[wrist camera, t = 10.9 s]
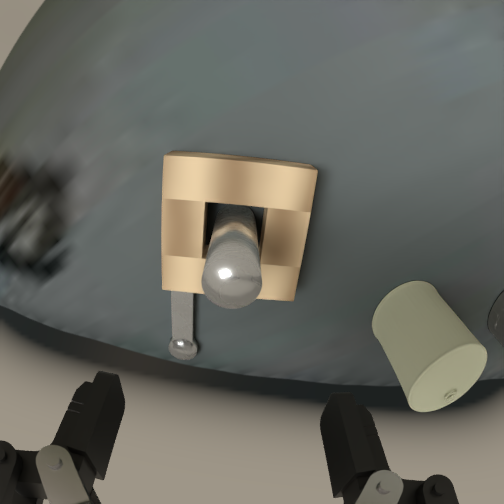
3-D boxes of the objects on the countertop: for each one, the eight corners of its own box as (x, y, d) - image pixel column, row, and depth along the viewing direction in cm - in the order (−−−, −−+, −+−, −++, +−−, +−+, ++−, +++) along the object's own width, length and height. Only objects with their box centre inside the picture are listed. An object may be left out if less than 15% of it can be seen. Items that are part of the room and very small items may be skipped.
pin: (257, 204, 28) (266, 259, 18) (253, 242, 30) (258, 311, 20) (217, 201, 28) (202, 253, 18) (214, 238, 29) (200, 305, 19)
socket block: (310, 164, 27) (317, 170, 24) (289, 284, 32) (293, 301, 29) (172, 150, 26) (163, 155, 23) (169, 273, 31) (162, 289, 28)
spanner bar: (168, 273, 31) (165, 278, 30) (199, 276, 31) (198, 281, 30) (170, 352, 35) (169, 358, 34) (197, 355, 35) (196, 361, 34)
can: (380, 354, 36) (413, 427, 26) (363, 302, 33) (404, 381, 22) (441, 322, 35) (486, 385, 24) (433, 266, 31) (493, 330, 20)
